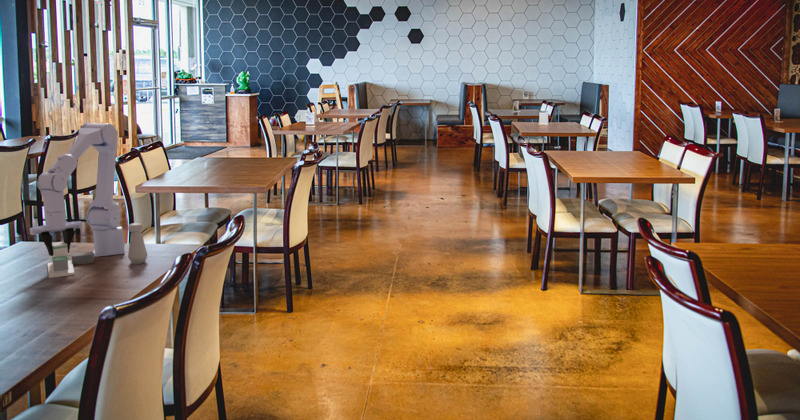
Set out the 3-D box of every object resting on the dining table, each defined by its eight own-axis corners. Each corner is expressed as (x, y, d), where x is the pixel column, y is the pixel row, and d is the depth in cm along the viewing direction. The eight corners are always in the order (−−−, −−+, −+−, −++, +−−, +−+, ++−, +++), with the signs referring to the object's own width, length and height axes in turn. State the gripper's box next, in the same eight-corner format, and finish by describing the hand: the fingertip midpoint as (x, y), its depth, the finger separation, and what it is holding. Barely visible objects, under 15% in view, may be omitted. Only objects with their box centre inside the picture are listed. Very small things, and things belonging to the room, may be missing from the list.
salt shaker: (150, 260, 221) (148, 222, 218) (142, 265, 215) (139, 226, 213) (133, 260, 221) (131, 221, 219) (125, 264, 216) (122, 225, 213)
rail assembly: (71, 262, 218) (70, 247, 217) (74, 274, 205) (73, 258, 204) (47, 265, 215) (46, 249, 214) (48, 277, 202) (47, 261, 201)
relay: (93, 260, 222) (92, 251, 221) (92, 263, 218) (92, 254, 218) (73, 262, 220) (72, 253, 219) (72, 265, 216) (71, 256, 215)
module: (68, 259, 209) (67, 243, 208) (54, 261, 206) (53, 246, 205) (64, 256, 212) (62, 241, 211) (50, 259, 209) (49, 243, 208)
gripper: (75, 206, 214) (79, 247, 217) (25, 212, 204) (29, 255, 207) (83, 209, 209) (86, 251, 212) (31, 216, 199) (36, 260, 202)
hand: (59, 253), depth 209 cm, fingers closed on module, 4 cm apart
